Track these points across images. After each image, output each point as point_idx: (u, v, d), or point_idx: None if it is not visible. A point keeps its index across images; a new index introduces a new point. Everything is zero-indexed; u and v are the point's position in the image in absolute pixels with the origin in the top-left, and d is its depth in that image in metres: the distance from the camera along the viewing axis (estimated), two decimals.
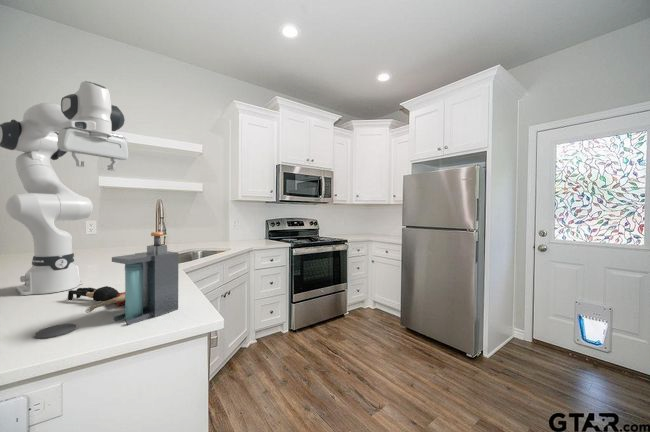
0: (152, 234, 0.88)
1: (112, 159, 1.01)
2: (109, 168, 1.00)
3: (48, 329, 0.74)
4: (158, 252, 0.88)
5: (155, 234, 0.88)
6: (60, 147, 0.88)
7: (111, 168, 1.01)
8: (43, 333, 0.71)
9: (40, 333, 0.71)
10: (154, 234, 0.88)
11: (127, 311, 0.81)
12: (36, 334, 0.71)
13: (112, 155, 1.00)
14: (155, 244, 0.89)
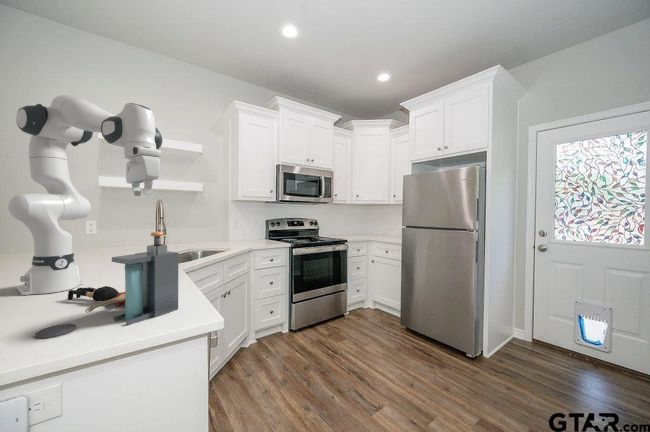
0: (152, 234, 0.88)
1: (136, 184, 0.94)
2: (138, 194, 0.93)
3: (48, 329, 0.74)
4: (158, 252, 0.88)
5: (155, 234, 0.88)
6: (153, 176, 0.84)
7: None
8: (43, 333, 0.71)
9: (40, 333, 0.71)
10: (154, 234, 0.88)
11: (127, 311, 0.81)
12: (36, 334, 0.71)
13: None
14: (155, 244, 0.89)
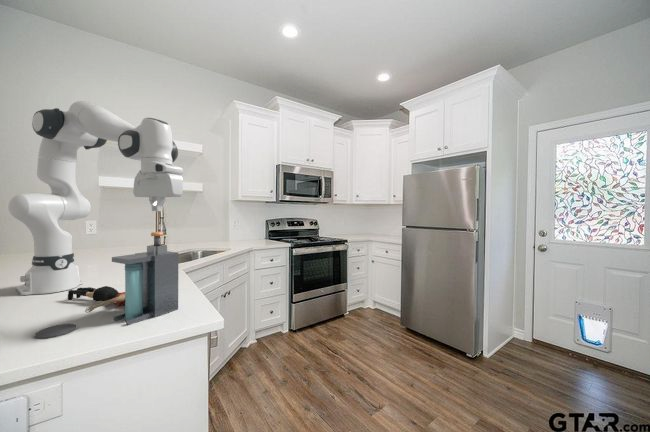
0: (152, 234, 0.88)
1: (155, 198, 0.90)
2: None
3: (48, 329, 0.74)
4: (158, 252, 0.88)
5: (155, 234, 0.88)
6: (178, 194, 0.85)
7: None
8: (43, 333, 0.71)
9: (40, 333, 0.71)
10: (154, 234, 0.88)
11: (127, 311, 0.81)
12: (36, 334, 0.71)
13: None
14: (155, 244, 0.89)
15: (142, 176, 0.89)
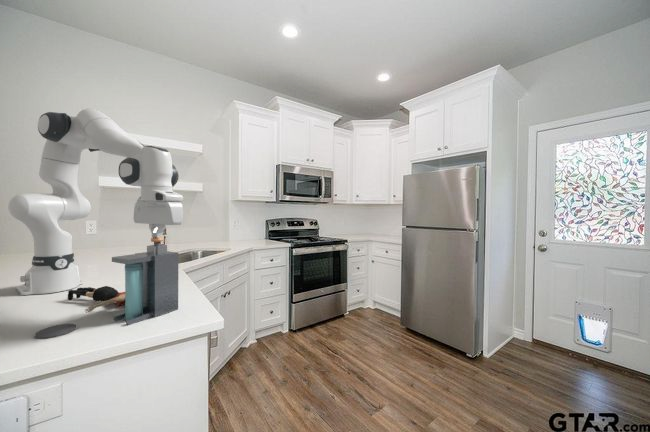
0: (152, 240, 0.88)
1: (155, 225, 0.90)
2: None
3: (48, 329, 0.74)
4: (158, 252, 0.88)
5: (155, 240, 0.88)
6: (178, 222, 0.85)
7: None
8: (43, 333, 0.71)
9: (40, 333, 0.71)
10: (154, 240, 0.88)
11: (127, 311, 0.81)
12: (36, 334, 0.71)
13: None
14: None
15: (142, 203, 0.90)
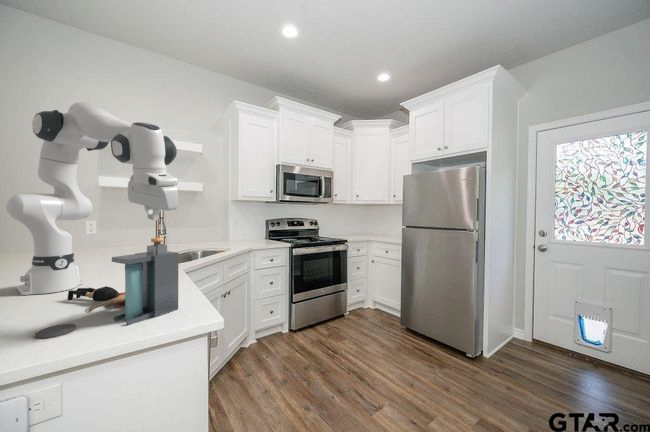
0: (152, 240, 0.88)
1: (150, 206, 0.88)
2: None
3: (48, 329, 0.74)
4: (158, 252, 0.88)
5: (155, 240, 0.88)
6: (173, 208, 0.83)
7: None
8: (43, 333, 0.71)
9: (40, 333, 0.71)
10: (154, 240, 0.88)
11: (127, 311, 0.81)
12: (36, 334, 0.71)
13: None
14: None
15: (135, 183, 0.86)
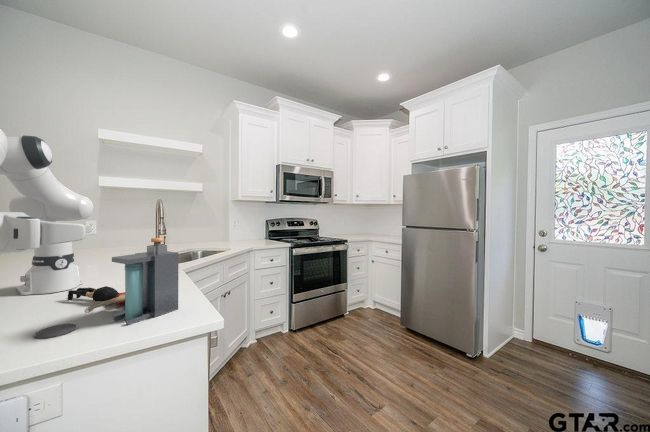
0: (152, 240, 0.88)
1: None
2: None
3: (48, 329, 0.74)
4: (158, 252, 0.88)
5: (155, 240, 0.88)
6: (83, 231, 0.63)
7: None
8: (43, 333, 0.71)
9: (40, 333, 0.71)
10: (154, 240, 0.88)
11: (127, 311, 0.81)
12: (36, 334, 0.71)
13: None
14: None
15: None
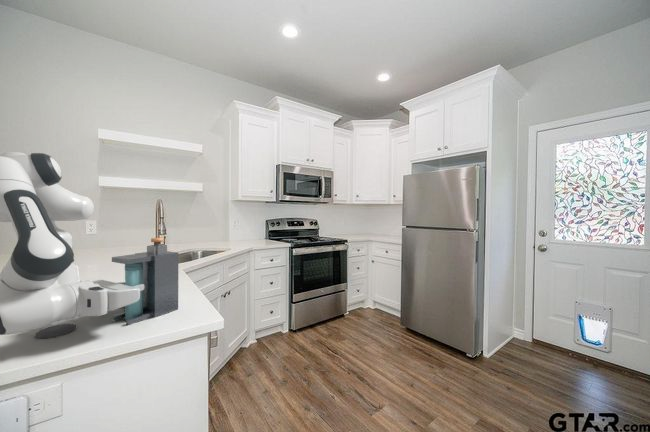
0: (152, 240, 0.88)
1: None
2: None
3: (48, 329, 0.74)
4: (158, 252, 0.88)
5: (155, 240, 0.88)
6: (139, 294, 0.75)
7: None
8: (43, 333, 0.71)
9: (40, 333, 0.71)
10: (154, 240, 0.88)
11: (127, 311, 0.81)
12: (36, 334, 0.71)
13: (109, 281, 0.81)
14: None
15: None
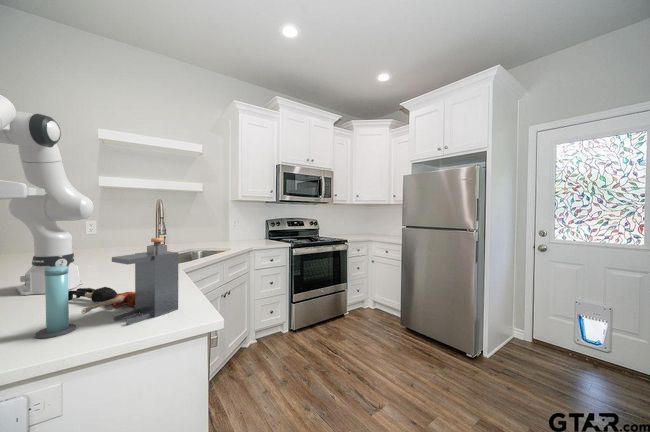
0: (152, 240, 0.88)
1: None
2: None
3: None
4: (158, 252, 0.88)
5: (155, 240, 0.88)
6: (24, 189, 0.66)
7: None
8: (43, 333, 0.71)
9: (40, 333, 0.71)
10: (154, 240, 0.88)
11: (47, 321, 0.72)
12: (36, 334, 0.71)
13: None
14: None
15: None
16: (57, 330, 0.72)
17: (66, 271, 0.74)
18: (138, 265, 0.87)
